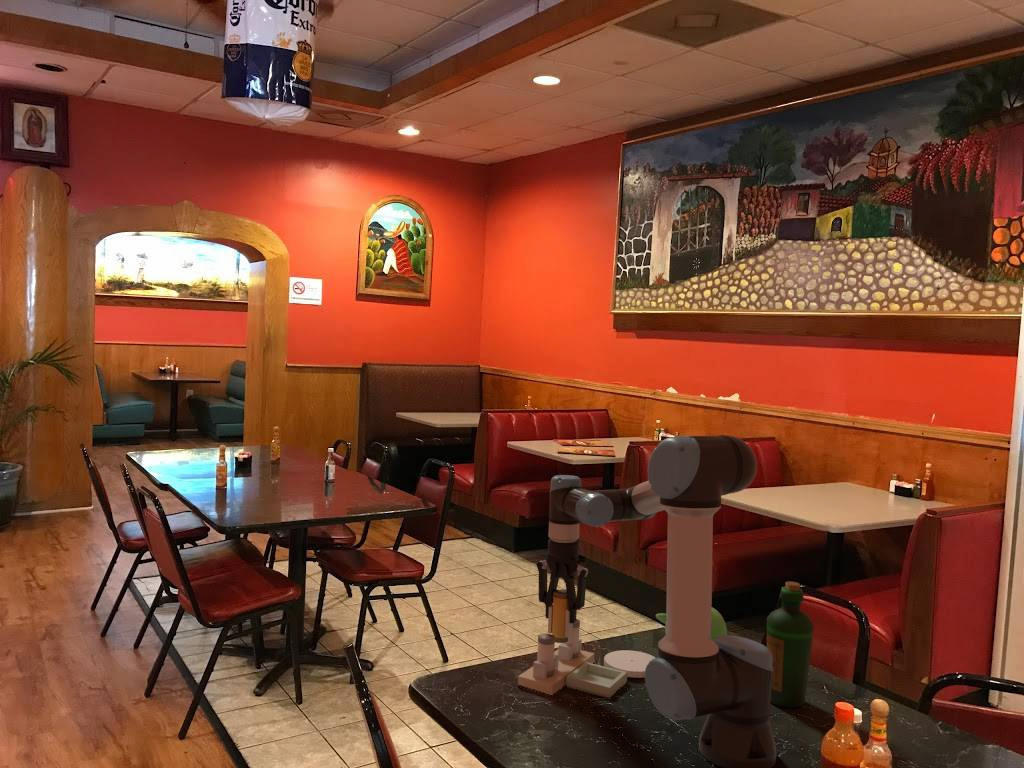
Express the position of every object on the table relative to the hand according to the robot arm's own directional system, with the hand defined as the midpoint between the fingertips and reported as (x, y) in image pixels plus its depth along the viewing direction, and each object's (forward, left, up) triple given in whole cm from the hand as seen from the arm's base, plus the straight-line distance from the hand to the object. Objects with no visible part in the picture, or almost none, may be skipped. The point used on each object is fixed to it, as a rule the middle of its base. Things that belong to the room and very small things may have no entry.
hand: (560, 633), depth 206 cm
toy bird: (+32, -24, -11) cm, 41 cm away
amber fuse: (0, 0, -2) cm, 2 cm away
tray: (0, -10, -10) cm, 15 cm away
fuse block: (0, 0, -10) cm, 10 cm away
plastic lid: (+14, -14, -11) cm, 22 cm away
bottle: (+17, -51, -11) cm, 55 cm away
